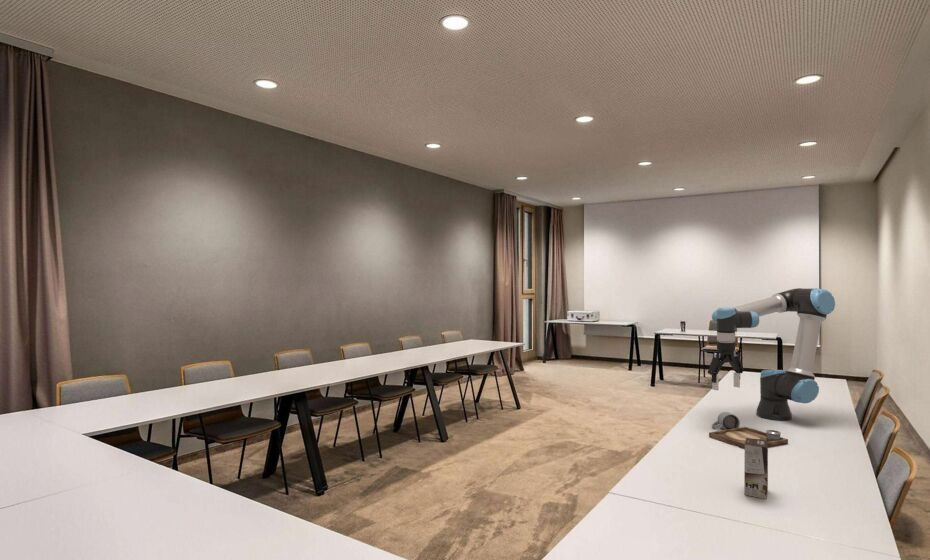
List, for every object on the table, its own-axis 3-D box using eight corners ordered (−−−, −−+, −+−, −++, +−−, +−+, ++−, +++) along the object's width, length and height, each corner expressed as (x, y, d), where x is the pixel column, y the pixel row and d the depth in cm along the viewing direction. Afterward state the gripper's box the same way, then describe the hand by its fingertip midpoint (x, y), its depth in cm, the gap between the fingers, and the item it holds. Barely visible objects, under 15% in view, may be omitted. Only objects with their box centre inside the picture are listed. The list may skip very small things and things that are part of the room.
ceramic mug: (733, 426, 242) (732, 410, 242) (740, 431, 234) (739, 414, 234) (709, 426, 243) (708, 409, 243) (715, 431, 235) (715, 414, 235)
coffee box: (767, 499, 162) (767, 447, 162) (743, 495, 166) (743, 444, 166) (768, 489, 170) (768, 439, 170) (746, 485, 173) (745, 436, 173)
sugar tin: (771, 440, 222) (771, 429, 222) (783, 443, 217) (783, 432, 217) (763, 441, 219) (763, 430, 219) (774, 445, 215) (774, 434, 215)
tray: (745, 431, 235) (745, 426, 235) (788, 444, 216) (787, 439, 216) (709, 437, 226) (709, 432, 226) (750, 451, 208) (750, 446, 208)
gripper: (737, 339, 246) (738, 384, 246) (699, 342, 236) (699, 389, 236) (752, 341, 239) (752, 387, 240) (712, 344, 229) (713, 392, 229)
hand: (726, 388), depth 238 cm, fingers open, 13 cm apart
